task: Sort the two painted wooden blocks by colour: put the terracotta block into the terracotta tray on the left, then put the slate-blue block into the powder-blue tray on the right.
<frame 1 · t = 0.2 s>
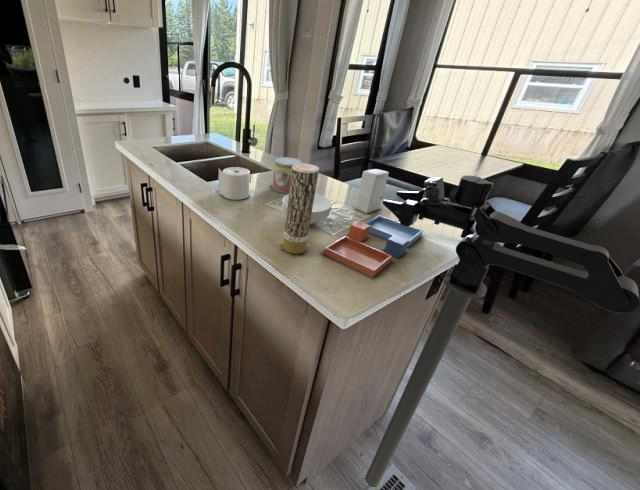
hand: (390, 197, 96), 15 cm above the countertop, tool horizontal, fingers open, 9 cm apart
blue block: (394, 252, 98), on the countertop
blue tray: (391, 232, 109), on the countertop
canned food: (285, 188, 141), on the countertop
toilet tissue: (234, 195, 132), on the countertop
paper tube: (293, 249, 97), on the countertop
clay tray: (356, 257, 94), on the countertop
cereal bowl: (304, 219, 115), on the countertop
cosmetic box: (366, 209, 126), on the countertop
clay block: (357, 237, 105), on the countertop
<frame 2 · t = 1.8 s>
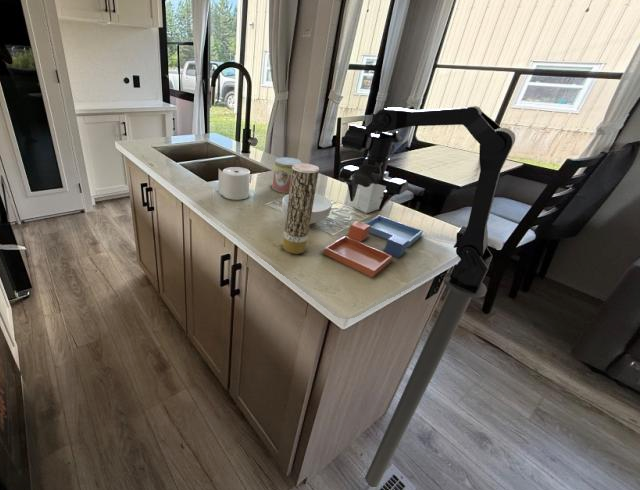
hand: (365, 205, 100), 11 cm above the countertop, tool pointing down, fingers open, 9 cm apart
nothing on the countertop moved.
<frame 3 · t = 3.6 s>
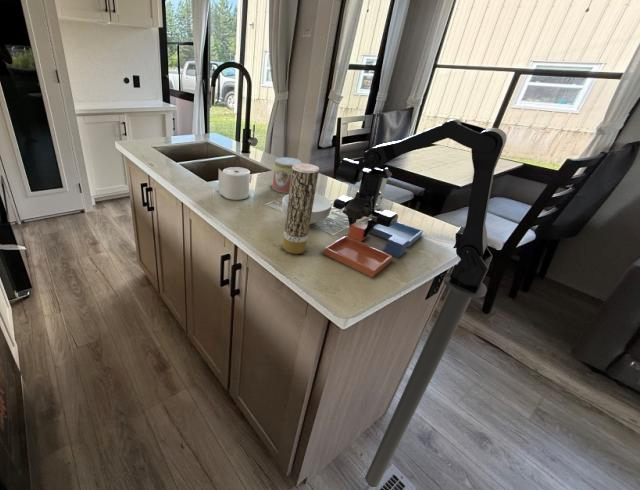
hand: (358, 234, 105), 1 cm above the countertop, tool pointing down, fingers closed on clay block, 4 cm apart
clay block: (357, 237, 105), on the countertop, touching gripper
everything else where it was.
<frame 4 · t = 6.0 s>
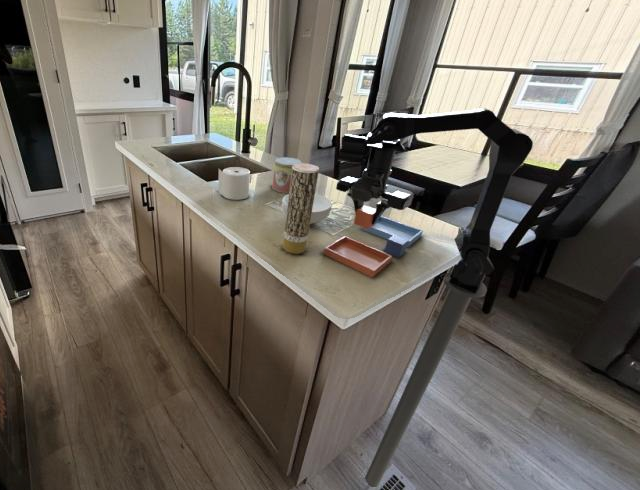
hand: (365, 220, 91), 11 cm above the countertop, tool pointing down, fingers closed on clay block, 4 cm apart
clay block: (364, 224, 91), point 10 cm above the countertop, touching gripper
everything else where it was.
when the fingers open (2 cm above the countertop, at t = 8.7 s): clay block stays where it is, resting on clay tray.
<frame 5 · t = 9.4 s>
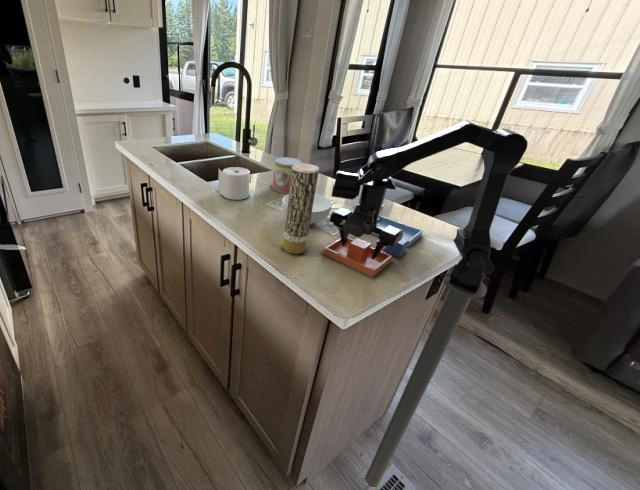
hand: (357, 252, 93), 2 cm above the countertop, tool pointing down, fingers open, 9 cm apart
clay block: (357, 256, 94), point 1 cm above the countertop, touching clay tray
everything else where it was.
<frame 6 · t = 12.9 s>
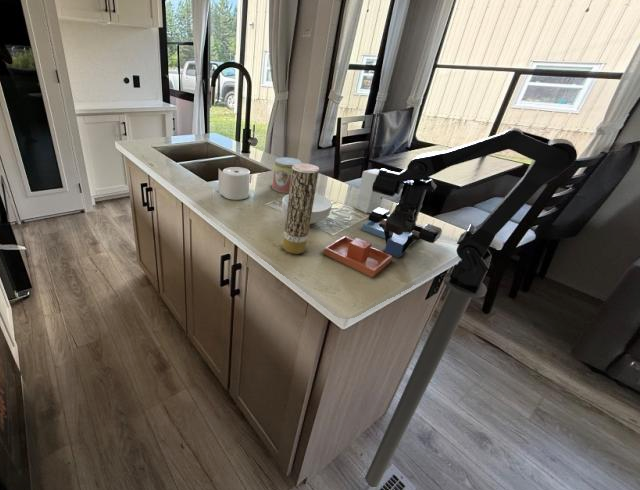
hand: (395, 249, 97), 1 cm above the countertop, tool pointing down, fingers closed on blue block, 4 cm apart
blue block: (394, 252, 98), on the countertop, touching gripper
everything else where it was.
when the fingers open (2 cm above the countertop, at t = 17.8 s): blue block stays where it is, resting on blue tray.
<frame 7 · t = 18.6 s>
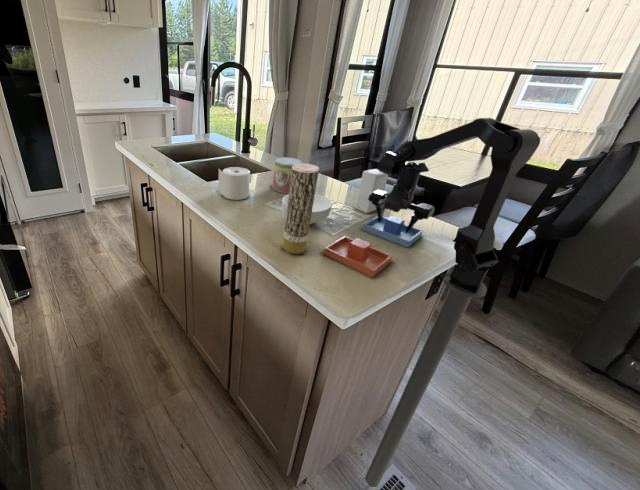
hand: (392, 227, 108), 2 cm above the countertop, tool pointing down, fingers open, 9 cm apart
blue block: (391, 231, 108), point 1 cm above the countertop, touching blue tray
everything else where it was.
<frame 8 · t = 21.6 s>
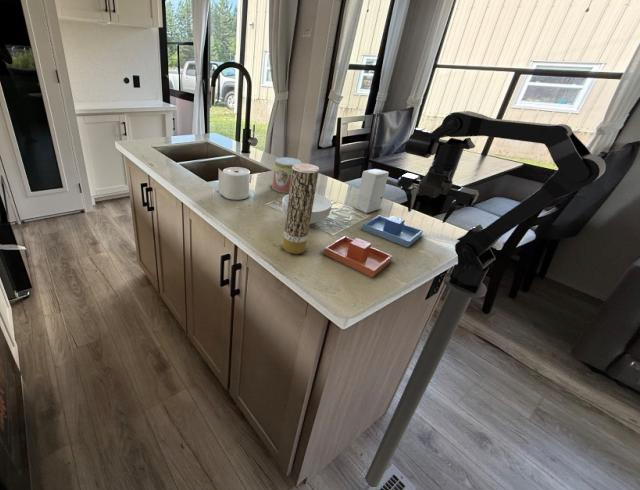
hand: (425, 216, 92), 12 cm above the countertop, tool pointing down, fingers open, 9 cm apart
nothing on the countertop moved.
at the end: clay block inside the target area in the clay tray (0.1 cm from its centre), point 0.6 cm above the clay tray's base; blue block inside the target area in the blue tray (0.1 cm from its centre), point 0.6 cm above the blue tray's base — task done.
